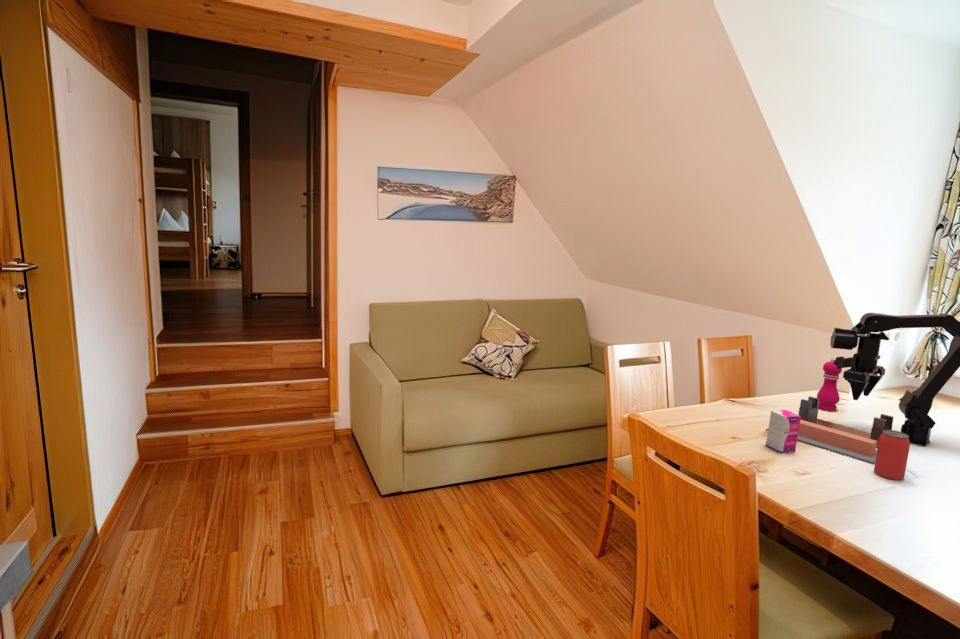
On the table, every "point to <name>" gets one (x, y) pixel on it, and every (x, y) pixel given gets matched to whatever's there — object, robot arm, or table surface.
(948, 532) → the table surface
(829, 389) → the pepper mill
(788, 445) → the supplement box
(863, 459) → the slate mat
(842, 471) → the table surface
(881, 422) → the rail rack
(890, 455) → the beer can
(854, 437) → the rail
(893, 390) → the table surface
